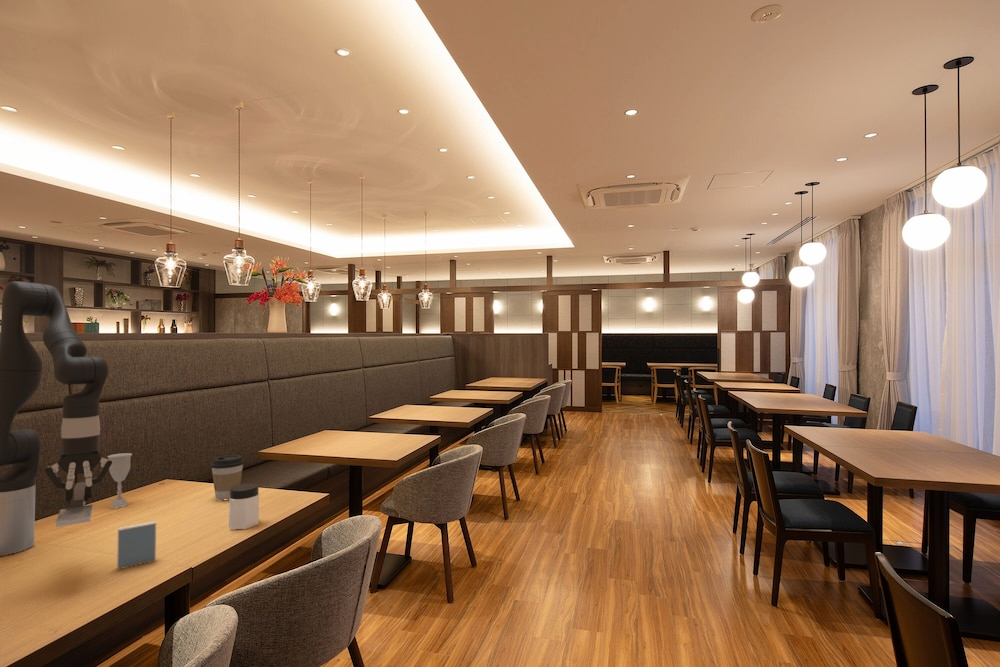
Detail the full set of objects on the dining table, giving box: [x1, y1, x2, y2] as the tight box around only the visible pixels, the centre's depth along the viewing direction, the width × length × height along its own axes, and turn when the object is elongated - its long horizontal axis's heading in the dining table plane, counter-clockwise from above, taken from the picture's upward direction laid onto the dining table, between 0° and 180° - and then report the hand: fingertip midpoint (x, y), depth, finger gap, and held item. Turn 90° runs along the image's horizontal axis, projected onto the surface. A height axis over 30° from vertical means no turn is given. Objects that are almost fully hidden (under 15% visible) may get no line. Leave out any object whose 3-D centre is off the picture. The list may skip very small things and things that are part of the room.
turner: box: [55, 481, 94, 528], centre depth 120 cm, size 22×6×3 cm, turn 37°
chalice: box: [107, 452, 133, 509], centre depth 170 cm, size 7×7×18 cm
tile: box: [116, 520, 157, 569], centre depth 124 cm, size 8×2×10 cm, turn 127°
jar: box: [228, 483, 260, 531], centre depth 151 cm, size 9×8×12 cm
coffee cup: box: [209, 454, 245, 501], centre depth 179 cm, size 11×11×15 cm
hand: (79, 501), depth 122 cm, fingers closed on turner, 2 cm apart
